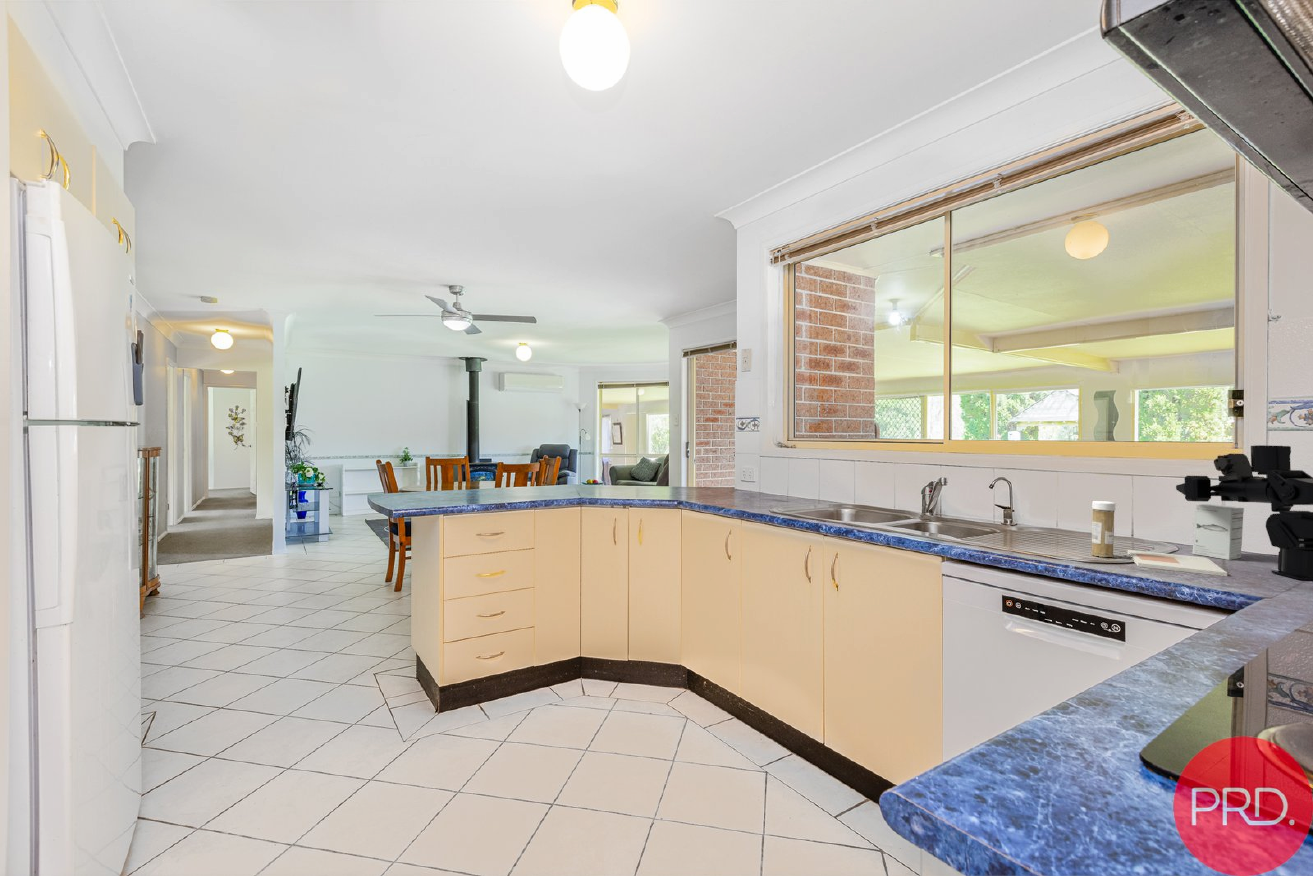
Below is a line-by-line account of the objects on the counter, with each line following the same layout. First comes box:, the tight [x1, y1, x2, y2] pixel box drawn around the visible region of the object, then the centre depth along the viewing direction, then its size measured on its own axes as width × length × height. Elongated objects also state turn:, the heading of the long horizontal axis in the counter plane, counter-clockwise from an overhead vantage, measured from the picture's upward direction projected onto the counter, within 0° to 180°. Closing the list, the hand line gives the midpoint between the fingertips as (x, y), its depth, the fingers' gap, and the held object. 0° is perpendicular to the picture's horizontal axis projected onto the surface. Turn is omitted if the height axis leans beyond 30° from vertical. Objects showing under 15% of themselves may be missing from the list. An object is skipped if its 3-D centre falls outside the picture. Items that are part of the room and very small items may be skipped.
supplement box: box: [1192, 503, 1245, 561], centre depth 150 cm, size 7×7×13 cm
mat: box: [1127, 549, 1228, 577], centre depth 141 cm, size 15×18×1 cm
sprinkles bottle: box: [1090, 500, 1116, 558], centre depth 147 cm, size 5×5×14 cm
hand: (1193, 487), depth 154 cm, fingers open, 9 cm apart
